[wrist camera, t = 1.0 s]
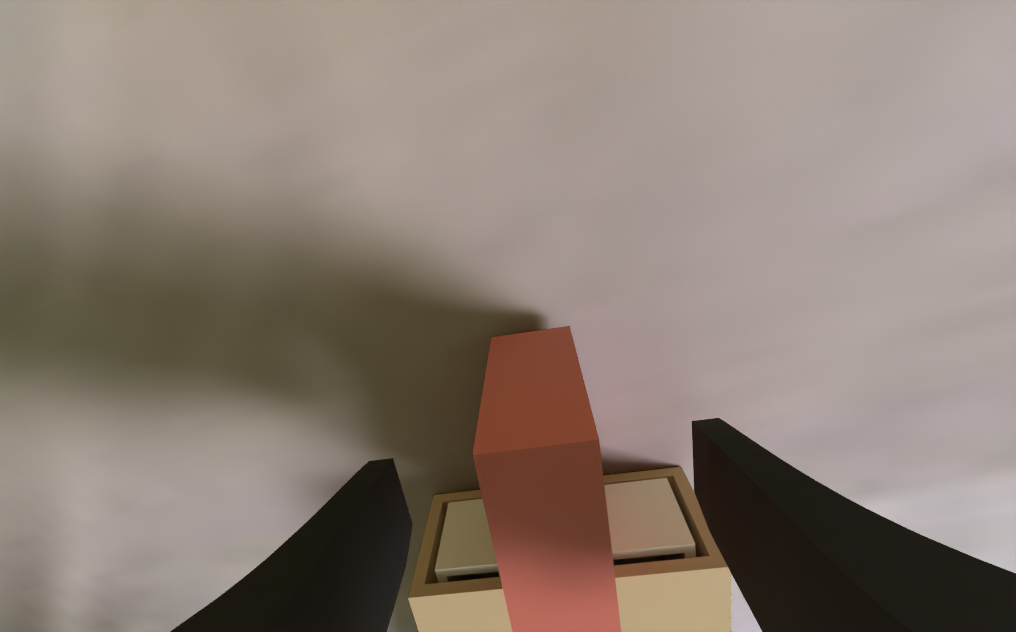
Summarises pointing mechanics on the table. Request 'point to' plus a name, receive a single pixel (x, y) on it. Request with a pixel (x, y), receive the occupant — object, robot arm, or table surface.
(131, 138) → the table surface
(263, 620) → the robot arm
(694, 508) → the sleeve
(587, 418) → the red and white box
